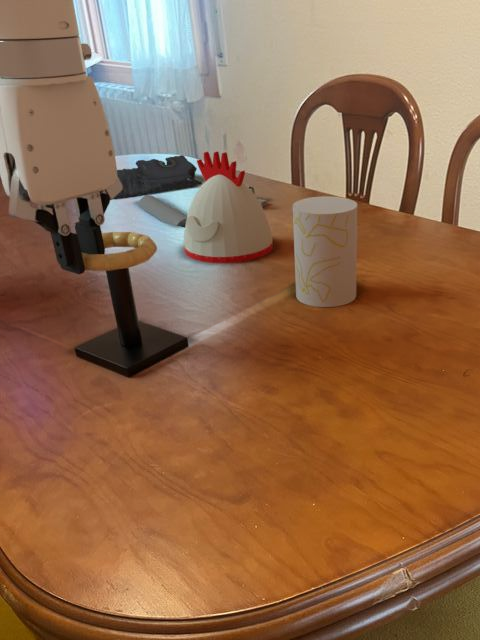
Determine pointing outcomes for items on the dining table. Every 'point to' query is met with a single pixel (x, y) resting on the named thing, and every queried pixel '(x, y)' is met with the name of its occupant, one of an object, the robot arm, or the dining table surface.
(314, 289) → the white patterned cylinder
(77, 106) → the robot arm
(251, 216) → the white chicken hat
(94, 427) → the dining table surface
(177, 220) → the gray half cylinder
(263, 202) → the strap clip
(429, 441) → the dining table surface
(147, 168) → the black rough slab
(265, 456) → the dining table surface
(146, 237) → the ring
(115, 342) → the post
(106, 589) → the dining table surface
